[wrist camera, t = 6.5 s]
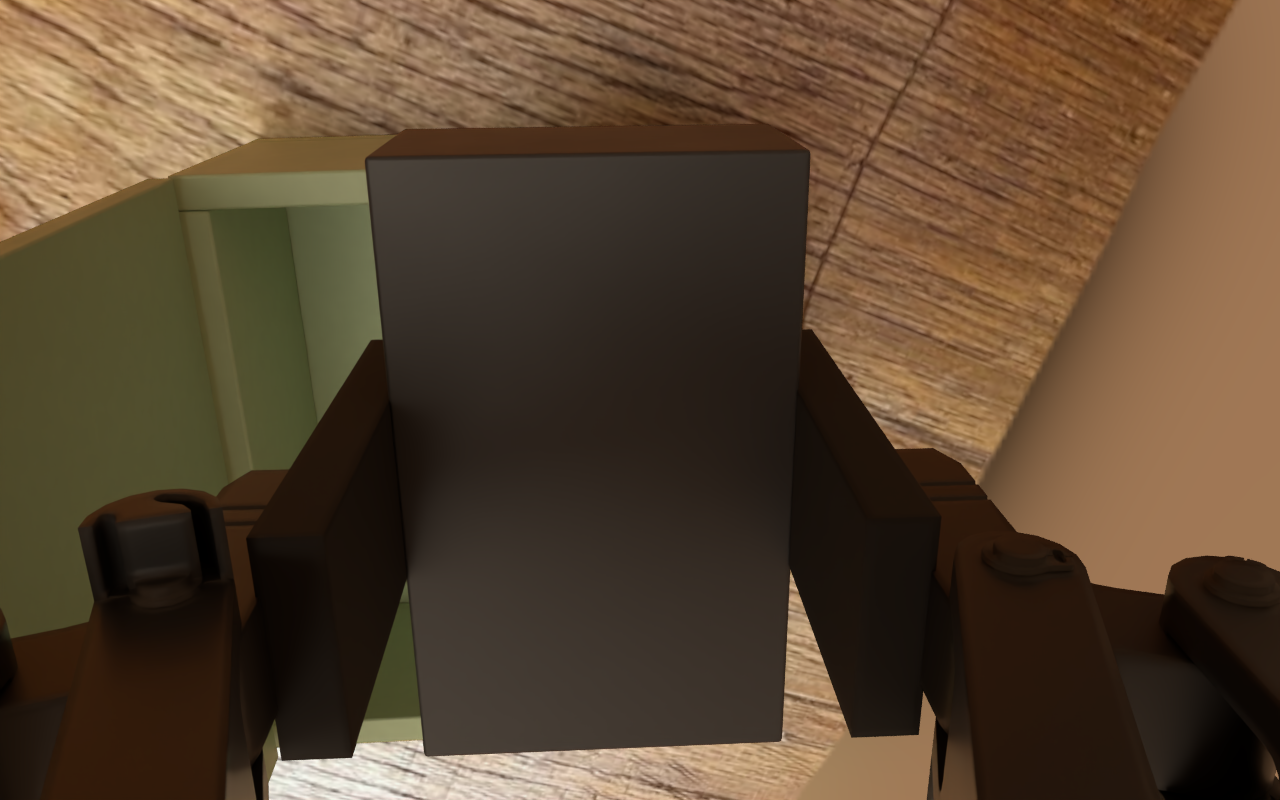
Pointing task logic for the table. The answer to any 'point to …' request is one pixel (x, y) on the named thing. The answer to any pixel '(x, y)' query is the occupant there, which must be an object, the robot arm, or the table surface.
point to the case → (290, 323)
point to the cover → (95, 392)
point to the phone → (593, 427)
